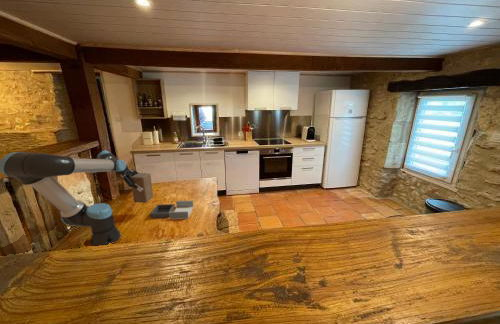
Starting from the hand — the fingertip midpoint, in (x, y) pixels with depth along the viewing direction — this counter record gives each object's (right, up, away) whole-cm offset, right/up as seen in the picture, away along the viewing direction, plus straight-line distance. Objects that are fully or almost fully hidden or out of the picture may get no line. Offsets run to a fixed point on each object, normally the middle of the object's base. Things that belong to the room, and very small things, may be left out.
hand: (145, 187), depth 149 cm
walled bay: (+25, -21, +7) cm, 33 cm away
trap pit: (+11, -21, +6) cm, 24 cm away
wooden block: (-2, -10, +3) cm, 11 cm away
